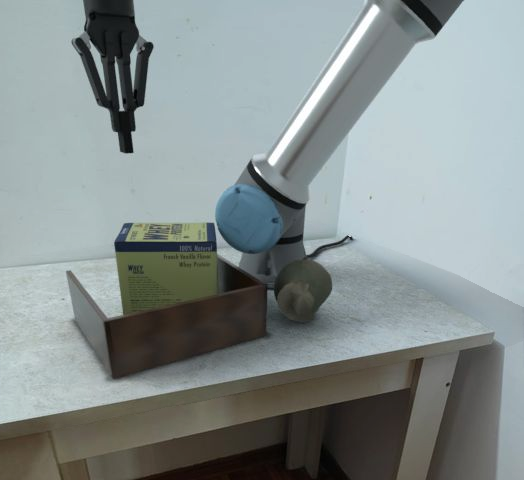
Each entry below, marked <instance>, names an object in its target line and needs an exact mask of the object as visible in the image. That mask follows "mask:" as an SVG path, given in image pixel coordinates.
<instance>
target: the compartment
mask: <svg viewBox="0 0 524 480" xmlns="http://www.w3.org/2000/svg"><path fill="white" fill-rule="evenodd" d="M65 274H66V280H67V286H68V290H69V296H70V300H71V306H72V311H73V316H74V321H75V322H76V324H77V325H78V327H79V329H80V330H81V332H82V333H83V334H84V336H85V338H86V339H87V341H88V342H89V344H90V345H91V347H92V348H93V351H94V352H95V353H96V355H97V357H98V358H99V359H100V361H101V363H102V364H103V366H104V367H105V369H106V371H107V372H108V374H109V375H110V376H111V378H112V380H114V379H118V378H121V377H126V376H128V375H131V374H132V375H133V374H136V373H139V372H142V371H146V370H149V369H153V368H156V367H159V366H164V365H168V364H170V363H174V362H177V361H182V360H185V359H188V358H192V357H195V356H199V355H202V354H205V353H206V354H207V353H209V352H212V351H216V350H220V349H224V348H227V347H230V346H233V345H237V344H240V343H244V342H248V341H252V340H254V339H258V338H262V337H265V336H266V335H267V315H268V314H267V313H268V291H269V290H268V289H269V288H268V285H267V284H265V283H263V282H262V281H260V280H259V279H257V278H255V277H254V276H252V275H250V274H249V273H247V272H246V271H244V270H242V269H241V268H239V265H238V266H237V265H236V264H234V263H233V262H232V261H230V260H229V259H227V258H225V257H223V256H221V255H220V254H218V253H217V294H216V295H211V296H207V297H202V298H198V299H193V300H189V301H184V302H180V303H175V304H171V305H166V306H161V307H157V308H152V309H148V310H143V311H139V312H134V313H130V314H125V315H123V314H122V315H117V316H112V317H107V315H106V314H105V313H104V311H103V310H102V309H101V308H100V306H99V305H98V304H97V302H96V301H95V300H94V298H93V297H92V296H91V295H90V294H89V292H88V291H87V289H86V288H85V287H84V285H83V284H82V283H81V282H80V280H79V279H78V278H77V276H76V275H75V274H74V272H73V271H72V270H71V269H69V270H65Z"/></svg>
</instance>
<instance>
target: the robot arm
mask: <svg viewBox="0 0 524 480" xmlns="http://www.w3.org/2000/svg"><path fill="white" fill-rule="evenodd" d="M82 2H83V11H84V16H85V22H84V24H83V25H84V26H83V32H82V33H81V34H79V36H77V37H73V38H72V39H71V41H70V42H71V45H72V47H73V48H74V50H75V51H76V52H77V54H78V55H79V57H80V59H81V63H82V65H83V67H84V71H85V73H86V76H87V79H88V82H89V85H90V88H91V90H92V94H93V96H94V99H95V102H96V104H97V106H98V107H100V108H104V109H106V110H108V112H109V117H110V125H111V130H112V131H113V132H114V133H117V139H118V146H119V152H120V153H123V154H125V155H127V154H134V152H135V151H134V144H133V135H132V133H133V132H136V129H137V126H136V116H135V112H136V110H137V109H138V108H141V107H144V105H145V101H146V91H147V80H148V73H149V72H148V70H149V62H150V61H149V60H150V57H151V55H152V53H153V50H154V46H155V45H154V43H153V42H152V41H147V40H146V39H145V38H144V37H143V36H141V35H140V30H139V28H138V26H137V23H136V12H135V3H134V0H82ZM463 2H465V0H366V2H365V4H364V5H363V7H361V9H360V11H359V13H358V14H357V15H356V17H355V18H354V20H353V21H352V23H351V24H350V27H349V28H348V29H347V30H346V32H345V33H344V35H343V36H342V38H341V40H340V41H339V43H338V44H337V46H336V47H335V49H334V51H333V52H332V53H331V55H330V56H329V58H328V59H327V61H326V62H325V64H324V66H323V67H322V69H321V70H320V71H319V73H318V74H317V76H316V78H315V79H314V80H313V82H312V83H311V84H310V86H309V87H308V89H307V91H306V93H305V94H304V95H303V97H302V99H301V100H300V101H299V103H298V105H297V106H296V107H295V109H294V110H293V112H292V114H291V115H290V117H289V118H288V120H287V121H286V123H285V124H284V126H283V127H282V129H281V130H280V132H279V133H278V135H277V136H276V138H275V139H274V141H273V142H272V144H271V145H270V147H269V149H268V150H267V151H266V152H262V153H256V154H254V155H252V156H251V159H249V161H248V163H247V165H246V166H245V167H244V169H243V170H242V172H241V174H240V175H239V177H238V178H237V180H236V182H235V183H234V184H233V185H231V186H229V187H228V188H226V190H224V191H223V192H222V194H221V195H220V197H219V199H218V201H217V202H216V206H215V211H214V220H215V223H216V228H217V231H218V233H219V234H220V236H221V238H222V239H223V240H224V241H225V242H226V243H227V245H229V246H230V247H231V248H232V249H233V250H236V251H238V252H240V253H242V254H241V257H240V261H239V262H238V267H239V268H241V269H242V270H244V271H246V272H247V273H249V274H250V275H252V276H254V277H255V278H257V279H259V280H260V281H262V282H263V283H265V284H267V285H268V289H274V283H275V279H276V277H277V275H278V273H279V272H280V271H281V269H282V268H283V267H284V266H286V265H287V264H289V263H291V262H293V261H296V260H302V259H303V258H304V257H307V258H308V259H310V258H313V257H314V256H316V254H318V252H319V251H321V250H323V249H326V248H329V247H330V248H331V247H335V246H338V245H342V244H343V243H345V241H347V240H348V239H349V240H351V241H352V240H353V239H354V238H353V236H352V235H351V237H349V236H348V235H349V234H347V235H346V236H344V237H343V238H342V239H341V240H339V241H335V242H331V243H326V244H323V245H321V246H318V247H317V248H315V250H314V251H313V252H312V253H310V254H307V253H306V248H305V244H304V233H305V232H304V231H305V221H306V210H307V209H306V208H307V204H308V202H310V199H311V197H310V189H309V187H310V185H311V184H312V182H313V181H314V179H316V177H317V176H318V174H319V173H320V172H321V170H322V169H323V167H324V166H325V165H326V164H327V162H328V161H329V160H330V158H331V157H332V155H333V154H334V153H335V152H336V150H337V149H338V148H339V147H340V145H341V144H342V142H343V141H344V140H345V139H346V137H347V136H348V134H349V133H350V132H351V131H352V129H353V128H354V127H355V125H356V124H357V123H358V121H359V120H360V119H361V117H362V116H363V115H364V113H365V112H366V111H367V109H368V108H369V107H370V106H371V104H372V102H373V101H374V100H375V99H376V97H378V95H379V93H380V92H381V91H382V90H383V88H384V87H385V85H386V84H388V82H389V80H390V79H391V77H392V76H393V75H394V74H395V72H396V71H397V69H398V68H399V67H400V66H401V65H402V63H403V62H404V61H405V59H406V58H407V56H408V55H409V54H410V53H411V51H412V49H413V48H414V47H415V46H416V45H417V44H419V43H423V42H427V41H431V40H432V41H433V40H434V39H435V38H436V37H437V35H438V34H439V33H440V32H441V30H442V29H443V28H444V26H445V25H446V24H447V23H448V21H449V20H450V19H451V18H452V16H453V15H454V14H455V13H456V11H457V10H458V9H459V8H460V6H461V5H462V4H463ZM90 42H91V43H90ZM91 44H92V45H93V47H94V48H95V49H96V51H97V52H98V53H99V56H100V57H99V58H100V63H101V65H102V71H103V78H104V85H103V82H102V79H101V77H100V73H99V71H98V67H97V65H96V61H95V59H94V56H93V53H92V52H91V48H92V46H91ZM135 46H136V47H135ZM134 48H135V50H136V52H137V54H136V58H135V66H134V67H135V68H134V80H133V79H132V72H131V71H132V69H131V62H132V61H131V54H132V52H133V50H134ZM116 64H117V70H118V71H117V72H118V78H119V87H120V95H121V104H122V108H123V110H120V109H121V104H120V97H119V89H118V79H117V73H116ZM104 86H105V88H104Z"/></svg>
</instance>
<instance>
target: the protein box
mask: <svg viewBox="0 0 524 480" xmlns="http://www.w3.org/2000/svg"><path fill="white" fill-rule="evenodd" d="M113 245H114V252H115V262H116V270H117V277H118V285H119V293H120V301H121V308H122V315H125V314H130V313H134V312H139V311H143V310H148V309H152V308H157V307H161V306H166V305H171V304H175V303H180V302H184V301H189V300H193V299H198V298H202V297H207V296H211V295H216V294H217V254H218V242H217V233H216V226H215V222H124V223H123V224H122V225H121V229H120V231H119V233H118V234H117V236H116V237H115V239H114V241H113Z"/></svg>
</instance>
